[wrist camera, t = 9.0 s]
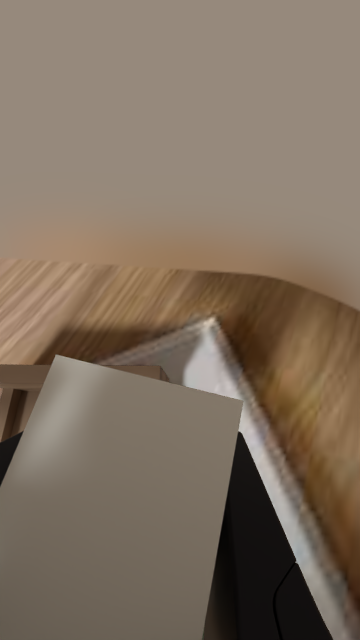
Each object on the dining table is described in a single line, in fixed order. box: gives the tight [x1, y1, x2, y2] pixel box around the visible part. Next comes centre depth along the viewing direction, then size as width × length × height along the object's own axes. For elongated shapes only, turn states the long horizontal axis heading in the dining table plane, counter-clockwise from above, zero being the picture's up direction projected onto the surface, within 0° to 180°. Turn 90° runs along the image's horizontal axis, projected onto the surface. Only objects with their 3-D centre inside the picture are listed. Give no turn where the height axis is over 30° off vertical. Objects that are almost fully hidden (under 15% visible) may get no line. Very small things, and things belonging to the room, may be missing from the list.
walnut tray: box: [0, 365, 169, 442], centre depth 17 cm, size 20×12×4 cm, turn 178°
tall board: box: [0, 355, 243, 640], centre depth 9 cm, size 4×4×10 cm
